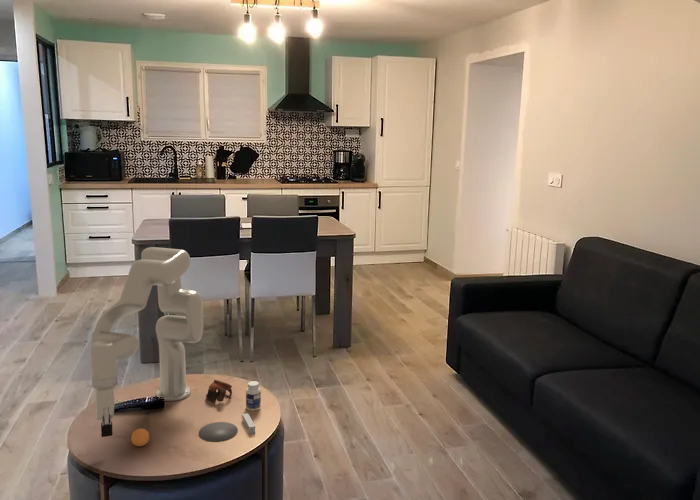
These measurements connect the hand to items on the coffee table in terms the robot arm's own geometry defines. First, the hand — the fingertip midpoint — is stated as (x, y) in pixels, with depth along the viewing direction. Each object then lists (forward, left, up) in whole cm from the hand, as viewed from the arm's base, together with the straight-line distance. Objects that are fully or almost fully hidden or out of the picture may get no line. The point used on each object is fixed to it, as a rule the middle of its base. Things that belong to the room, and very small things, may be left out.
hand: (107, 435), depth 181 cm
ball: (-1, +10, -3) cm, 10 cm away
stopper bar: (-2, +45, -6) cm, 46 cm away
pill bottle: (-16, +50, -6) cm, 53 cm away
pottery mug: (-26, +39, -6) cm, 48 cm away
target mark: (-2, +35, -6) cm, 35 cm away
